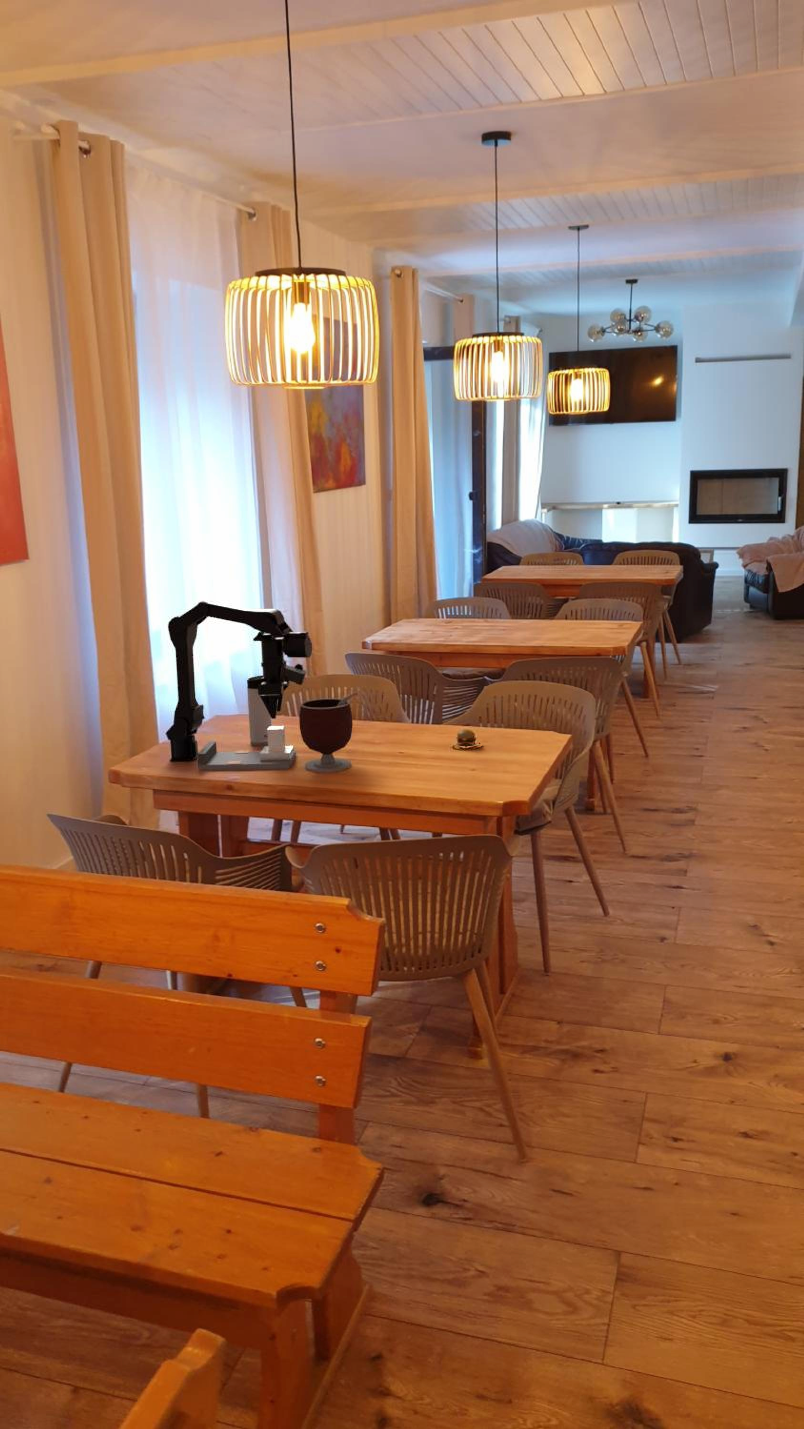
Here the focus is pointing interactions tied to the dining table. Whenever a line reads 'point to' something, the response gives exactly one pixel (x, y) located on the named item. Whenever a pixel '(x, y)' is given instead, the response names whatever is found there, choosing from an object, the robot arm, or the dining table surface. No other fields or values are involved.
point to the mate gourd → (326, 731)
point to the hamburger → (466, 738)
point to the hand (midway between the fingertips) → (276, 714)
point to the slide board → (236, 760)
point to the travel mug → (257, 713)
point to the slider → (276, 745)
